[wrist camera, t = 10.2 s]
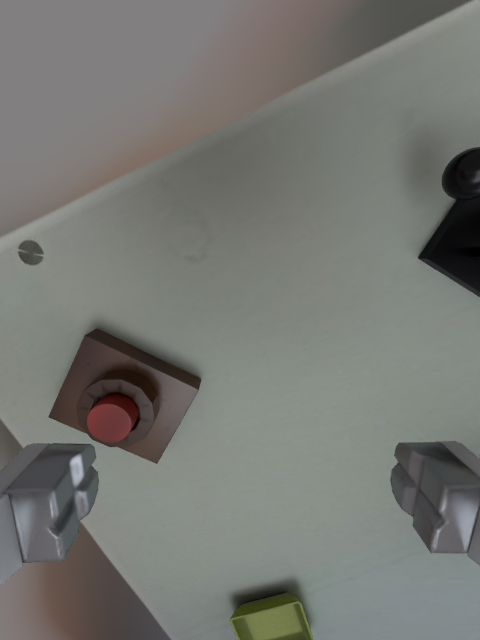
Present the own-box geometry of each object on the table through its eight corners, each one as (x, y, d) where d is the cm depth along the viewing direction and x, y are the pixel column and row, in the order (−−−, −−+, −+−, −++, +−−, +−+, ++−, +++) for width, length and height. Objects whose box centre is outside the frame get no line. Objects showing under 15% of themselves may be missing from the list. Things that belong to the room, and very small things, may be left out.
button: (89, 419, 25) (79, 431, 23) (105, 386, 24) (96, 396, 23) (128, 436, 25) (120, 449, 24) (144, 404, 25) (138, 415, 23)
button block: (61, 404, 28) (35, 429, 25) (96, 328, 27) (73, 341, 23) (162, 448, 30) (152, 478, 26) (201, 379, 28) (196, 399, 24)
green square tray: (228, 598, 35) (228, 619, 33) (296, 581, 35) (300, 601, 33) (248, 645, 37) (249, 668, 35) (312, 629, 37) (317, 651, 35)
